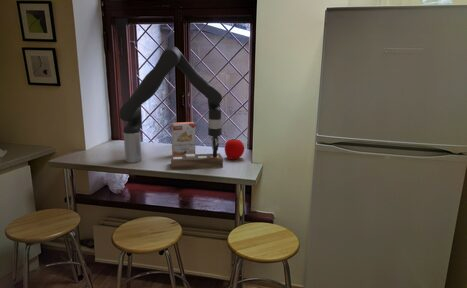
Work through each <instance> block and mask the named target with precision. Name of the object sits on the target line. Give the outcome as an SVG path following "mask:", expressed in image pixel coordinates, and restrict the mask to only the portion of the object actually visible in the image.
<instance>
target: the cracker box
mask: <svg viewBox="0 0 467 288" xmlns="http://www.w3.org/2000/svg"><path fill="white" fill-rule="evenodd" d="M186 154H196V123H195V122H194V121H185V122H171V155H186Z"/></svg>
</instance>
